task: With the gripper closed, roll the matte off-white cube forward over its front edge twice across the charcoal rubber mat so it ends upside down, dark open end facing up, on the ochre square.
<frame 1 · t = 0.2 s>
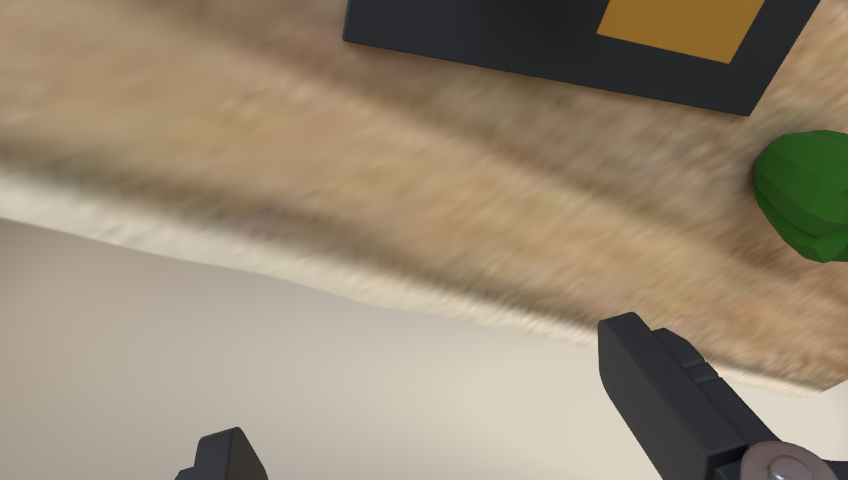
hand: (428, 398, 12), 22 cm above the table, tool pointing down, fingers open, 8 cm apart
bell pepper: (779, 160, 41), on the table
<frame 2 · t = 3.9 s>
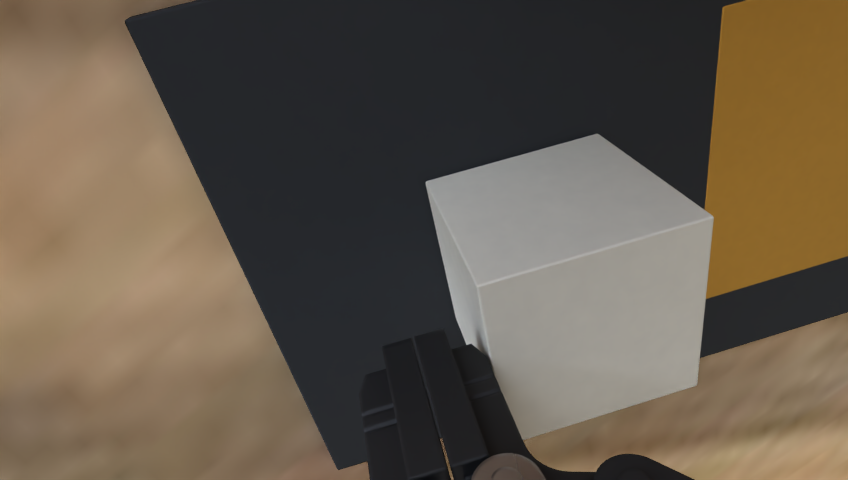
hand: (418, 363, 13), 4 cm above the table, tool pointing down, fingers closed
mat: (696, 171, 17), on the table
matte off-white cube: (521, 231, 16), point 1 cm above the table, touching gripper, mat
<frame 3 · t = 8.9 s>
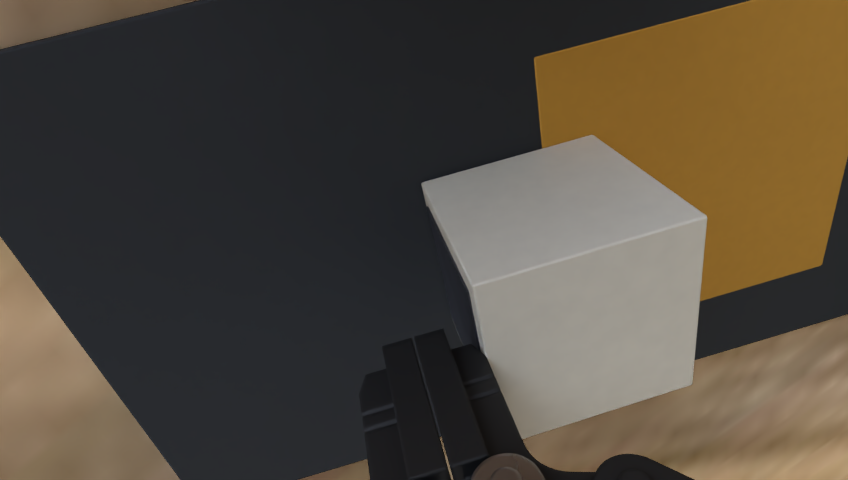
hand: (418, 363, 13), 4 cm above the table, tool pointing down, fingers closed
mat: (542, 215, 17), on the table
matte off-white cube: (457, 307, 14), point 3 cm above the table, tilted 91°, touching gripper, mat
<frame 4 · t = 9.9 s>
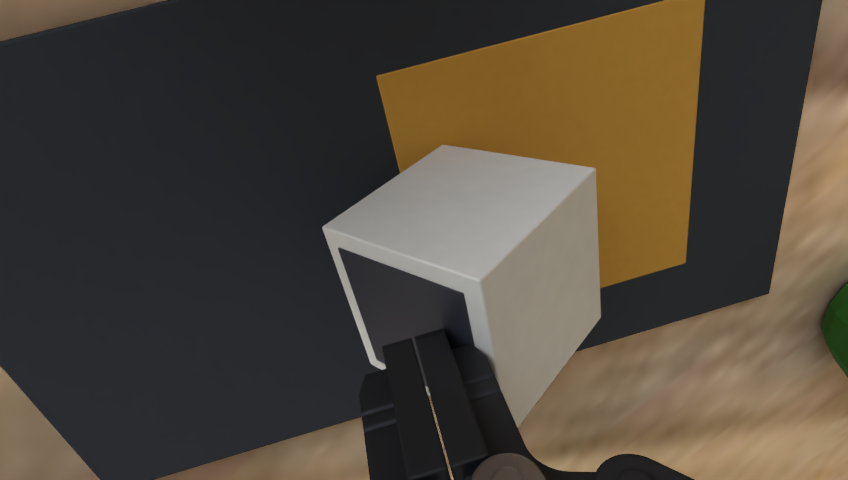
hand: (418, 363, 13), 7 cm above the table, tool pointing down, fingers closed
mat: (409, 217, 18), on the table
matte off-white cube: (412, 332, 14), point 6 cm above the table, tilted 128°, touching gripper, mat
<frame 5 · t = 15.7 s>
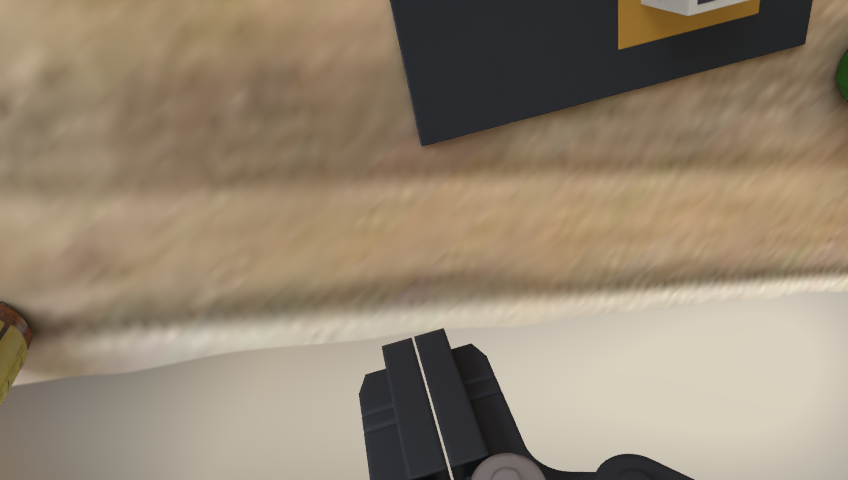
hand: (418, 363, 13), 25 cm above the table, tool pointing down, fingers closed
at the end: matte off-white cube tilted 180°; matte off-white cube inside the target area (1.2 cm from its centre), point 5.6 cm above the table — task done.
